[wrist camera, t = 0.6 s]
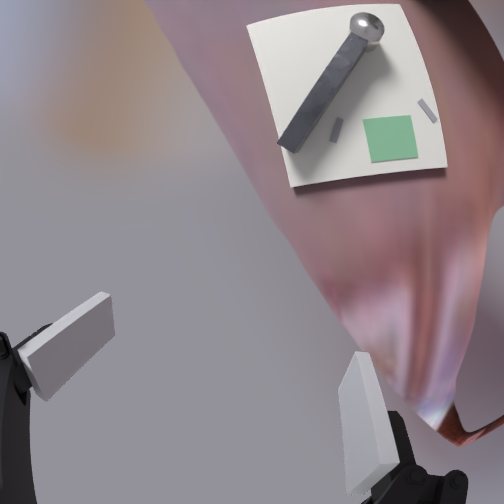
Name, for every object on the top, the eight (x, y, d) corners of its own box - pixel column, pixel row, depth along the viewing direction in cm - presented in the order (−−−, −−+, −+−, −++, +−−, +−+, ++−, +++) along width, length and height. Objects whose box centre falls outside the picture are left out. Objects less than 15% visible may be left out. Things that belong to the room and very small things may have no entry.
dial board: (397, 8, 19) (399, 3, 17) (442, 165, 26) (448, 167, 24) (249, 29, 25) (245, 24, 24) (292, 185, 33) (290, 187, 31)
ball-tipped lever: (356, 22, 20) (359, 6, 17) (383, 38, 20) (389, 24, 16) (277, 139, 29) (269, 139, 25) (304, 156, 29) (300, 158, 25)
